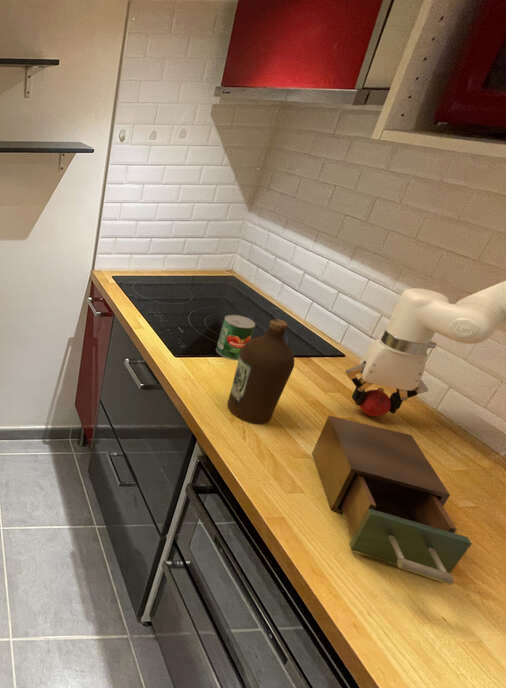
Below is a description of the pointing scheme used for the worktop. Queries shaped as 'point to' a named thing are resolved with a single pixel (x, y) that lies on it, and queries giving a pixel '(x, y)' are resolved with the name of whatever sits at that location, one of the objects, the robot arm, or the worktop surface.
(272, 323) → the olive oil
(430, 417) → the worktop surface
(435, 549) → the drawer
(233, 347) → the canned tomato
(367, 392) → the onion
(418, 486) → the cabinet
